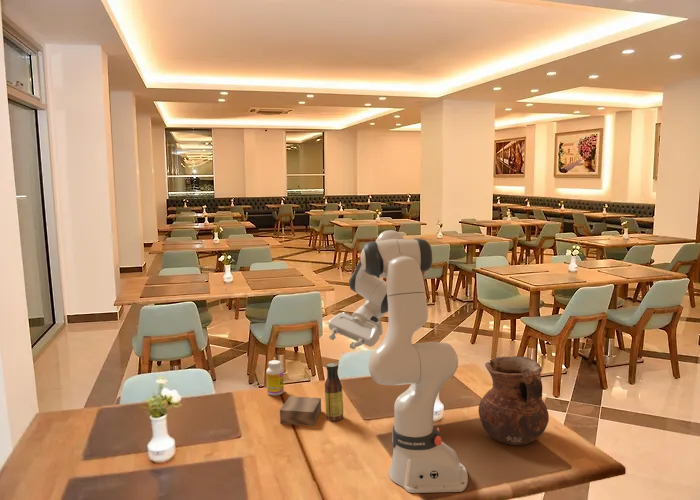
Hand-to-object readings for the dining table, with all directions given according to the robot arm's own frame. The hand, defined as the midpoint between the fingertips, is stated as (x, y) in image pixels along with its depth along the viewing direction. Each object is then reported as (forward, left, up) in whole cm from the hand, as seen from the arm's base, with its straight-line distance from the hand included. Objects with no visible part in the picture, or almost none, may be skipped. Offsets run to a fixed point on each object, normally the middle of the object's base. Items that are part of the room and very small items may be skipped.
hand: (341, 342), depth 194 cm
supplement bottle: (+30, -14, -27) cm, 43 cm away
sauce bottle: (+2, +5, -27) cm, 27 cm away
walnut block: (+14, +6, -26) cm, 30 cm away
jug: (-59, +10, -27) cm, 65 cm away
